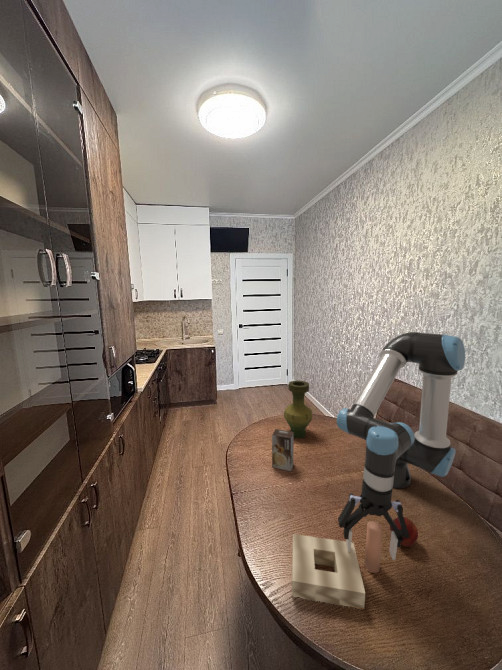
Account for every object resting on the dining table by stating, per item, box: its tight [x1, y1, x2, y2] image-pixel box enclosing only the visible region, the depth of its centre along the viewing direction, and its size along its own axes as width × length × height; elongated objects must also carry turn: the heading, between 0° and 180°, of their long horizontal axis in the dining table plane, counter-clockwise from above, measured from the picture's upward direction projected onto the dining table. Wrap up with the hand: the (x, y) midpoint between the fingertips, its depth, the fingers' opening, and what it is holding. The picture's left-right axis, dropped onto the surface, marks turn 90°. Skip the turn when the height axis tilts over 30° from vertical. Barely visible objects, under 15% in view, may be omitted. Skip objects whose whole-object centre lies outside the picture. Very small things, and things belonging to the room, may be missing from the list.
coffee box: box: [271, 428, 295, 472], centre depth 124 cm, size 9×6×16 cm
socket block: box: [291, 533, 366, 609], centre depth 75 cm, size 18×14×5 cm
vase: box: [283, 380, 313, 439], centre depth 151 cm, size 16×16×30 cm
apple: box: [389, 516, 419, 547], centre depth 85 cm, size 7×8×8 cm
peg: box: [364, 520, 384, 574], centre depth 77 cm, size 4×4×13 cm
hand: (369, 551), depth 77 cm, fingers open, 11 cm apart
